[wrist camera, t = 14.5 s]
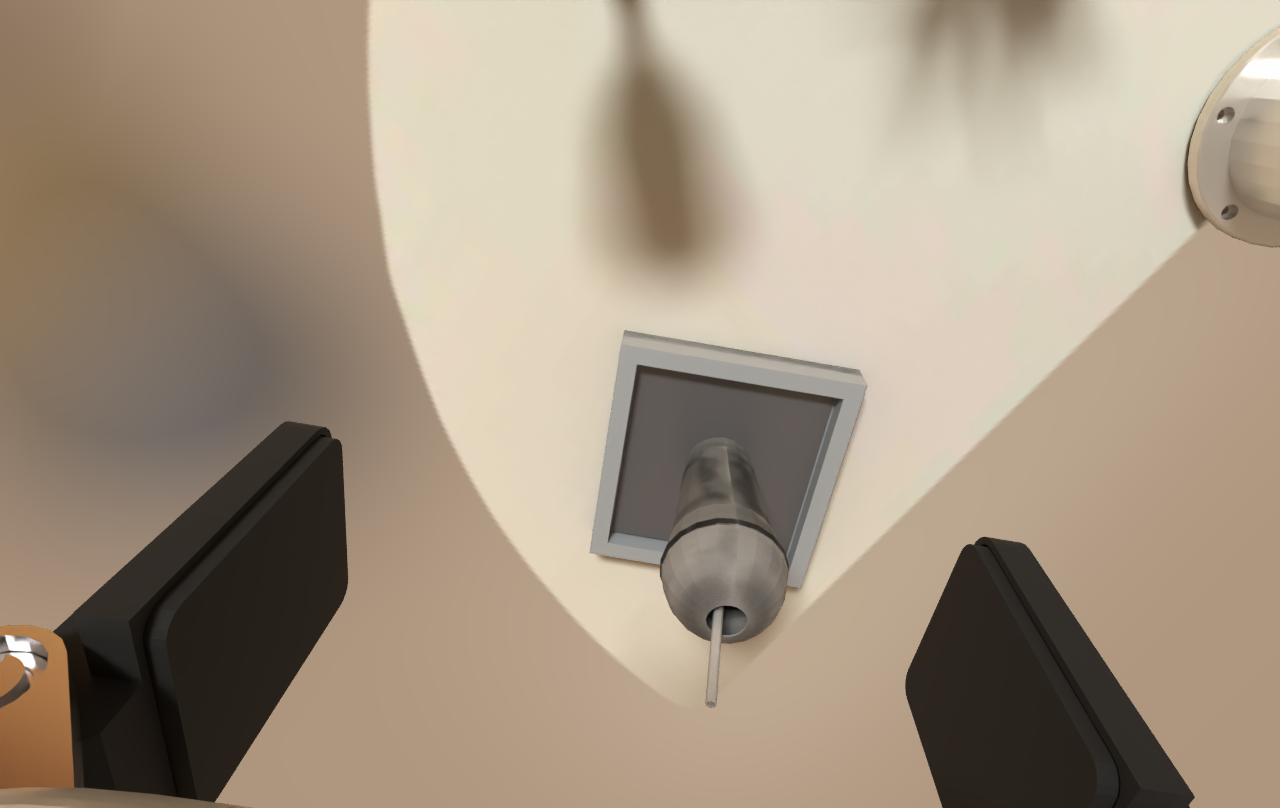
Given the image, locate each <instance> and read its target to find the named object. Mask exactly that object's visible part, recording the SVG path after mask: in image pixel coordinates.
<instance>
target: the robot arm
mask: <svg viewBox="0 0 1280 808" xmlns="http://www.w3.org/2000/svg"><path fill="white" fill-rule="evenodd" d="M1218 113H1219V115H1218ZM1217 116H1218V117H1217ZM1188 177H1189V185H1190V188H1191V191H1192V195H1193V198H1194V201H1195V203H1196V204H1197V206H1198V208H1199V209H1200V211H1201V213H1202V214H1203V216H1204V217H1205V218H1206V219H1207V220H1208V221H1209V222H1210V223H1211V224H1212V225H1214V226H1215V227H1216V228H1217V229H1219V230H1220V231H1222V232H1224V233H1226V234H1227V235H1229V236H1231V237H1233V238H1236V239H1239V240H1242V241H1245V242H1248V243H1250V244H1256V245H1261V246H1267V247H1280V27H1279V28H1277V29H1276V30H1274V31H1272V32H1271V33H1269V34H1268V35H1267V36H1265V37H1264V38H1263V39H1262V40H1260V41H1259V42H1258V43H1257V44H1255V45H1254V46H1253V47H1251V48H1250V49H1249V50H1248V51H1246V52H1245V54H1244V55H1243V56H1242V57H1241V58H1240V59H1239V60H1238V61H1237V62H1236V63H1235V64H1234V65H1233V66H1232V67H1231V68H1230V69H1229V70H1228V71H1227V72H1226V74H1225V75H1224V77H1223V78H1222V79H1221V81H1220V82H1219V83H1218V85H1217V86H1216V88H1215V89H1214V90H1213V92H1212V93H1211V94H1210V96H1209V98H1208V100H1207V102H1206V104H1205V106H1204V108H1203V110H1202V112H1201V114H1200V115H1199V117H1198V120H1197V123H1196V126H1195V129H1194V132H1193V135H1192V138H1191V142H1190V149H1189V156H1188ZM342 459H343V458H342V445H341V443H340V441H339V440H338V439H333V438H332V437H331V433H330V431H329V430H328V429H327V428H326V427H321V426H315V425H308V424H303V423H296V422H290V421H289V422H284V423H283V424H281V425H280V426H279V427H278V428H277V429H275V430H274V431H273V432H272V433H271V434H270V435H269V436H268V437H267V438H265V439H264V440H263V441H262V442H261V443H260V444H259V445H258V446H257V447H256V448H254V449H253V450H252V451H251V452H250V453H249V454H248V455H247V456H246V457H244V458H243V459H242V460H241V461H240V462H239V463H238V464H237V465H236V466H235V467H233V468H232V469H231V470H230V471H229V472H228V473H227V474H226V475H225V476H224V477H222V478H221V479H220V480H219V481H218V482H217V483H216V484H215V485H214V486H213V487H211V488H210V489H209V490H208V491H207V492H206V493H205V494H204V495H203V496H201V497H200V498H199V499H198V500H197V501H196V502H195V503H194V504H193V505H192V506H190V508H188V509H187V510H186V511H185V512H184V513H183V514H182V515H181V516H179V517H178V518H177V519H176V520H175V521H174V522H173V523H172V524H171V525H169V526H168V527H167V528H166V529H165V530H164V531H163V532H162V533H161V534H160V535H158V536H157V537H156V538H155V539H154V540H153V541H152V542H151V543H150V544H148V545H147V546H146V547H145V548H144V549H143V550H142V551H141V552H140V553H139V554H137V555H136V556H135V557H134V558H133V559H132V560H131V561H130V562H129V563H128V564H126V565H125V566H124V567H123V568H122V569H121V570H120V571H119V572H118V573H116V574H115V576H113V577H112V578H111V579H110V580H109V581H108V582H107V583H106V584H104V585H103V586H102V587H101V588H100V589H99V590H98V591H97V592H96V593H94V594H93V595H92V596H91V597H90V598H89V599H88V600H87V601H86V602H85V603H83V605H81V606H80V607H79V608H78V609H77V610H76V611H75V612H74V613H73V614H72V615H71V616H70V617H69V618H68V619H67V620H66V621H64V622H63V623H62V624H61V625H60V626H59V627H58V628H57V629H56V630H54V631H53V632H52V631H51V630H48V629H44V628H40V627H35V626H31V625H15V626H14V625H7V626H2V627H0V808H250V807H244V806H236V805H229V804H222V803H215V801H216V799H217V798H218V796H219V795H220V793H221V792H222V790H223V789H224V787H225V785H226V784H227V782H228V781H229V779H230V778H231V776H232V774H233V773H234V771H235V770H236V768H237V766H238V765H239V764H240V762H241V760H242V759H243V757H244V755H245V754H246V753H247V751H248V749H249V748H250V746H251V744H252V743H253V741H254V740H255V738H256V737H257V735H258V734H259V732H260V731H261V729H262V727H263V726H264V724H265V723H266V721H267V720H268V718H269V716H270V715H271V713H272V712H273V710H274V708H275V707H276V705H277V704H278V702H279V701H280V699H281V698H282V696H283V694H284V693H285V691H286V690H287V688H288V686H289V685H290V684H291V682H292V680H293V679H294V677H295V676H296V674H297V673H298V671H299V669H300V668H301V666H302V665H303V663H304V662H305V660H306V658H307V657H308V655H309V654H310V652H311V651H312V649H313V648H314V646H315V644H316V643H317V641H318V640H319V638H320V636H321V635H322V633H323V632H324V630H325V629H326V627H327V626H328V624H329V622H330V621H331V619H332V618H333V616H334V614H335V613H336V611H337V610H338V608H339V607H340V605H341V603H342V601H343V599H344V596H345V594H346V590H347V585H348V568H347V545H346V522H345V501H344V479H343V460H342ZM905 686H906V696H907V700H908V703H909V706H910V709H911V712H912V715H913V718H914V721H915V724H916V727H917V731H918V734H919V737H920V739H921V743H922V746H923V749H924V752H925V755H926V758H927V761H928V764H929V767H930V770H931V773H932V777H933V780H934V783H935V786H936V789H937V792H938V795H939V798H940V801H941V804H942V807H943V808H1190V807H1189V806H1188V805H1189V804H1190V802H1191V801H1192V800H1193V799H1194V798H1195V797H1194V795H1193V793H1192V792H1191V790H1190V789H1189V787H1188V786H1187V784H1186V783H1185V781H1184V780H1183V778H1182V777H1181V775H1180V774H1179V772H1178V771H1177V769H1176V768H1175V767H1174V765H1173V763H1172V762H1171V760H1170V759H1169V757H1168V756H1167V755H1166V753H1165V751H1164V750H1163V749H1162V747H1161V745H1160V744H1159V742H1158V741H1157V740H1156V738H1155V736H1154V735H1153V734H1152V732H1151V730H1150V729H1149V727H1148V726H1147V724H1146V723H1145V721H1144V720H1143V719H1142V717H1141V715H1140V714H1139V712H1138V711H1137V710H1136V708H1135V707H1134V705H1133V704H1132V702H1131V701H1130V699H1129V698H1128V696H1127V695H1126V693H1125V692H1124V690H1123V689H1122V687H1121V686H1120V684H1119V683H1118V681H1117V680H1116V678H1115V677H1114V675H1113V674H1112V672H1111V671H1110V669H1109V668H1108V666H1107V665H1106V663H1105V662H1104V660H1103V659H1102V657H1101V656H1100V654H1099V653H1098V651H1097V650H1096V648H1095V647H1094V645H1093V644H1092V642H1091V641H1090V639H1089V638H1088V636H1087V635H1086V633H1085V632H1084V630H1083V629H1082V627H1081V626H1080V624H1079V623H1078V621H1077V620H1076V618H1075V617H1074V615H1073V614H1072V612H1071V611H1070V609H1069V608H1068V606H1067V605H1066V603H1065V602H1064V600H1063V599H1062V597H1061V596H1060V594H1059V593H1058V591H1057V590H1056V588H1055V587H1054V585H1053V584H1052V582H1051V581H1050V579H1049V578H1048V576H1047V575H1046V574H1045V572H1044V570H1043V569H1042V567H1041V566H1040V564H1039V563H1038V561H1037V560H1036V558H1035V557H1034V555H1033V554H1032V552H1031V551H1030V549H1029V548H1028V547H1027V546H1026V545H1025V544H1022V543H1019V542H1013V541H1007V540H1001V539H995V538H989V537H982V538H980V539H978V540H977V541H976V542H975V544H974V545H972V544H969V545H966V546H965V547H964V548H963V550H962V551H961V553H960V555H959V558H958V560H957V562H956V564H955V567H954V569H953V571H952V573H951V576H950V578H949V580H948V582H947V585H946V587H945V589H944V591H943V593H942V596H941V598H940V600H939V603H938V605H937V607H936V609H935V612H934V614H933V616H932V618H931V620H930V623H929V625H928V627H927V629H926V632H925V634H924V636H923V638H922V640H921V643H920V645H919V647H918V650H917V652H916V654H915V656H914V658H913V661H912V663H911V665H910V667H909V669H908V672H907V676H906V685H905Z"/></svg>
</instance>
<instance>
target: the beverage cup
mask: <svg viewBox="0 0 1280 808" xmlns="http://www.w3.org/2000/svg"><path fill="white" fill-rule="evenodd" d="M788 571H789V563H788V560H787V556H786V553H785V550H784V548H783V547H782V546H781V544H780V542H779V540H778V538H777V536H776V534H775V532H774V530H773V529H772V528H771V526H770V523H769V519H768V516H767V513H766V509H765V506H764V503H763V499H762V496H761V493H760V489H759V486H758V483H757V479H756V476H755V473H754V469H753V466H752V463H751V462H750V459H749V456H748V453H747V452H746V451H745V449H744V448H743V446H741V445H740V444H738V443H737V442H735V441H734V440H731V439H727V438H720V437H714V438H710V439H706V440H704V441H702V442H700V443H698V444H697V445H696V446H695V447H694V448H693V449H692V450H691V451H690V453H689V456H688V458H687V464H686V466H685V469H684V472H683V477H682V482H681V488H680V493H679V498H678V504H677V509H676V514H675V519H674V525H673V530H672V533H671V536H670V538H669V540H668V543H667V545H666V548H665V550H664V552H663V555H662V557H661V559H660V577H661V580H662V583H663V589H664V593H665V596H666V598H667V601H668V603H669V606H670V608H671V610H672V612H673V614H674V615H675V616H676V617H677V618H678V620H679V621H680V622H681V623H682V624H683V625H684V626H685V628H686V629H688V630H689V631H691V632H692V633H694V634H696V635H697V636H699V637H701V638H702V639H705V640H708V641H711V645H710V657H709V668H708V680H707V692H706V703H705V704H706V706H708V707H710V708H713V707H715V706H716V703H717V690H718V677H719V664H720V650H721V643H728V644H731V643H737V642H742V641H746V640H748V639H750V638H752V637H754V636H756V635H758V634H760V633H761V632H762V631H763V630H764V629H766V628H767V627H768V626H769V625H770V624H771V623H772V622H773V621H774V619H775V618H776V616H777V614H778V612H779V610H780V609H781V607H782V605H783V602H784V600H785V594H786V586H787V580H788Z"/></svg>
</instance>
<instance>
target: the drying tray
mask: <svg viewBox="0 0 1280 808" xmlns="http://www.w3.org/2000/svg"><path fill="white" fill-rule="evenodd" d="M866 388H867V384H866V382H865V380H864V378H863V376H862V374H861V372H860V371H859V370H856V369H850V368H844V367H838V366H832V365H826V364H820V363H814V362H808V361H803V360H797V359H791V358H785V357H779V356H773V355H767V354H761V353H755V352H749V351H743V350H737V349H731V348H725V347H720V346H714V345H708V344H702V343H696V342H690V341H684V340H678V339H672V338H666V337H660V336H654V335H648V334H642V333H637V332H631V331H624V335H623V339H622V343H621V349H620V355H619V362H618V368H617V375H616V382H615V388H614V395H613V402H612V408H611V415H610V421H609V428H608V435H607V441H606V448H605V454H604V461H603V468H602V474H601V481H600V488H599V494H598V501H597V507H596V514H595V521H594V527H593V534H592V540H591V547H590V553H592V554H598V555H604V556H610V557H616V558H622V559H628V560H634V561H640V562H646V563H652V564H658V565H660V559H661V557H662V555H663V552H664V550H665V548H666V545H667V543H668V540H669V538H670V536H671V533H672V530H673V525H674V519H675V514H676V509H677V504H678V498H679V493H680V488H681V482H682V477H683V472H684V469H685V466H686V464H687V458H688V456H689V453H690V451H691V450H692V449H693V448H694V447H695V446H696V445H697V444H698V443H700V442H702V441H704V440H706V439H710V438H714V437H720V438H727V439H731V440H734V441H735V442H737V443H738V444H740V445H741V446H743V448H744V449H745V451H746V452H747V453H748V456H749V459H750V462H751V463H752V466H753V469H754V473H755V476H756V479H757V483H758V486H759V489H760V493H761V496H762V499H763V503H764V506H765V509H766V513H767V516H768V519H769V523H770V526H771V528H772V529H773V530H774V532H775V534H776V536H777V538H778V540H779V542H780V544H781V546H782V547H783V548H784V550H785V553H786V556H787V560H788V563H789V571H788V580H787V586H790V587H796V588H801V585H802V582H803V579H804V576H805V573H806V570H807V567H808V564H809V561H810V558H811V555H812V552H813V549H814V546H815V543H816V540H817V537H818V534H819V530H820V527H821V524H822V521H823V518H824V515H825V512H826V509H827V506H828V503H829V500H830V497H831V494H832V491H833V488H834V485H835V482H836V479H837V476H838V473H839V470H840V467H841V464H842V461H843V458H844V455H845V452H846V449H847V446H848V443H849V440H850V437H851V434H852V431H853V427H854V424H855V421H856V418H857V415H858V412H859V409H860V406H861V403H862V400H863V397H864V394H865V391H866Z"/></svg>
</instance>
